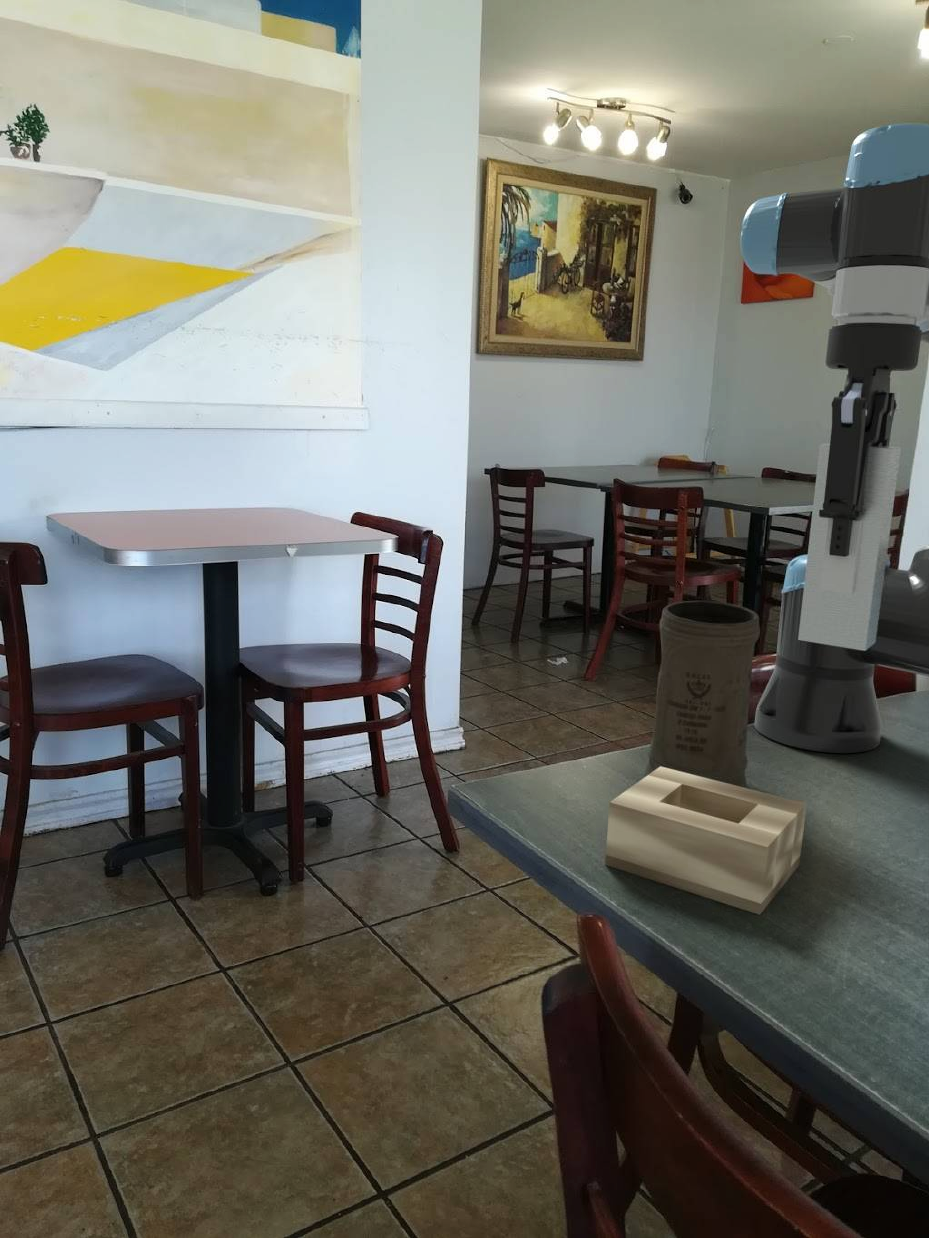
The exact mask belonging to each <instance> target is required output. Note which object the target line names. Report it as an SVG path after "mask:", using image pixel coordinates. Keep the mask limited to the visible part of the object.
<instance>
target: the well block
mask: <svg viewBox="0 0 929 1238" xmlns="http://www.w3.org/2000/svg"><path fill="white" fill-rule="evenodd" d="M806 813H807V803H806V802H801V801H798V800H794V799H790V798H786V797H781V796H779V795H776V794H775V795H774V794H771V793H766V792H764V791H763V792H762V791H758V790H755V789H752V788H751V789H750V788H744V787H740V786H736V785H732V784H728V783H724V782H720V781H716V780H712V779H708V778H704V777H700V776H696V775H692V774H688V773H685V772H681V771H677V770H673V769H669V768H665V767H661V766H660V767H659V768H657V769H656V770H654V771H653V772H652V773H650V774H649V775H647V776H646V777H645V778H644V777H643V778H641V779H640V780H639V781H638V782H636V783H635V784H633V785H632V786H630V787H629V788H628V789H626V790H625V791H624V792H622V793H620V794H619V795H618V796H616V797H615V798H614V799H612V800H611V801H609V807H608V819H607V834H606V835H607V836H606V846H605V863H604V865H605V866H608V867H610V868H614V869H617V870H620V871H623V872H626V873H629V874H632V875H636V876H638V877H641V878H645V879H647V880H651V881H654V882H657V883H660V884H663V885H667V886H669V887H673V888H675V889H678V890H682V891H685V892H687V893H692V894H694V895H697V896H700V897H703V898H706V899H709V900H712V901H716V902H719V903H722V904H725V905H728V906H730V907H733V908H737V909H740V910H743V911H747V912H749V913H753V914H755V915H759V916H760V915H761V914H762V913H763V912H764V911H765V910H766V907H768V905H769V904H770V903H771V902H772V900H774V898H775V897H776V895H777V894H778V893H779V891H780V890H781V889H782V888H783V887H784V886H785V884H786V883H787V882H788V880H789V879H790V877H791V876H793V874H794V872H796V871H797V869H798V868H799V866H800V861H801V854H802V845H803V836H804V828H805V821H806V820H805V819H806Z"/></svg>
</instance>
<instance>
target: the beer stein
mask: <svg viewBox="0 0 929 1238" xmlns="http://www.w3.org/2000/svg"><path fill="white" fill-rule="evenodd" d="M658 629H659V632H660V633H659V634H660V635H659V636H660V646H661V664H660V667H659V668H660V669H659V672H658V675H657V676H658V677H657V688H656V705H655V707H656V708H655V715H654V726H653V734H652V739H651V743H650V745H649V747H648V750H647V756H648V763H647V764H646V768H645V770H644V773H643V774H644V776H643V778H645V777H646V776H647V775H649V774H650V773H652V772H653V771H654V770H656V769H657V768H659V767H660V766H661V767H665V768H669V769H673V770H677V771H681V772H685V773H688V774H692V775H696V776H700V777H704V778H708V779H712V780H716V781H720V782H724V783H728V784H732V785H736V786H740V787H744V788H747V787H748V785H747V778H746V773H745V772H746V770H747V767H748V762H749V760H748V757H747V756H748V755H747V737H748V725H749V724H748V721H749V707H750V706H749V705H750V696H751V695H750V694H751V683H752V673H753V671H752V670H753V664H754V663H753V662H754V652H755V647H756V646H755V645H756V642H758V640H759V638H760V635H761V628H760V616H759V615H758V614H757V613H756V612H755V611H754V610H752V609H749V608H747V607H744V606H741V605H738V604H733V603H727V602H722V601H714V600H713V601H711V600H688V601H687V600H685V601H684V600H683V601H678V602H674V603H670V604H667V605H666V606H665V607H664V608H663V609H662V613H661V618H660V620H659V628H658ZM747 789H748V788H747Z"/></svg>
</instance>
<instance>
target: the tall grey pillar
mask: <svg viewBox="0 0 929 1238" xmlns="http://www.w3.org/2000/svg"><path fill="white" fill-rule="evenodd" d="M829 449H830V443H823V444H819V452H818V460H817V467H816V469H817V470H816V478H815V485H814V496H813V504H812V513H811V522H810V530H809V540H808V541H809V542H808V549H807V555H808V556H807V565H806V574H805V583H804V592H803V601H802V610H801V618H800V627H799V636H798V640H802V641H808V642H814V643H821V644H827V645H833V646H839V647H845V648H851V649H857V650H863V651H866V650H867V649H868V648H869V647H871V646H872V645H873V644H874V643H875V642H876V634H877V627H878V619H879V612H880V604H881V596H882V589H883V581H884V573H885V566H886V558H887V556H888V549H889V541H890V534H891V525H892V520H893V519H892V518H893V511H894V505H895V503H894V502H895V495H896V489H897V481H898V473H899V466H900V465H899V464H900V457H901V451H902V447H901V446H889V447H888V446H871V447H870V449H869V457H868V465H867V473H866V479H865V485H864V491H863V497H862V503H861V509H860V512H861V514H860V517H859V518H858V520H862V527H861V535H860V543H859V551H858V559H857V567H856V575H855V583H854V591H853V593H852V594H849V593H842V592H835V591H827V590H820V588H821V580H822V571H823V563H824V554H825V546H826V537H827V529H828V520H829V518H823V517H820V516H819V510H823V503H824V496H825V486H826V477H827V468H828V458H829Z"/></svg>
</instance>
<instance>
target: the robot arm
mask: <svg viewBox="0 0 929 1238" xmlns="http://www.w3.org/2000/svg"><path fill="white" fill-rule="evenodd" d="M850 148H851V149H850V152H849V158H848V164H847V168H846V174H845V177H844V179H843V185H844V187H838V188H830V189H819V190H813V191H811V190H810V191H801V192H800V191H799V192H791V193H789V192H784V193H782V194H778V195H774V196H772V195H771V196H769V197H763V198H760V199H757V200H756V201H754V203H752V204H751V205H750V206H749V207H748V209H747V211H746V212H745V215H744V218H743V220H742V222H741V223H742V224H741V232H740V233H741V234H740V238H739V240H740V251H741V256H742V259H743V261H744V263H745V265H746V266H747V267H748V269H749V270H750V271H751V272H752V273H754V274H756V275H773V276H780V275H781V274H794V275H797V276H799V277H801V278H804V279H806V280H809V281H811V282H813V283H815V284H818V285H820V286H821V287H824V288H826V289H827V294H828V295H830V296H833V298H832V307H831V316H832V318H833V319H834V320H838V321H837V324H835V325H832V326H831V328H830V329H828V337H827V344H826V345H827V346H826V356H825V365H826V366H827V368H828V369H831V370H840V371H841V370H843V371H844V370H845V371H847V374H846V375H847V376H846V379H845V384H844V387H843V390H840V391H839V394H838V396H834V397H833V399H832V402H831V431H830V439H829V440H830V441H829V444H830V449H829V458H828V468H827V477H826V486H825V496H824V503H823V510H819V516H820V517H823V518H829V520H828V529H827V537H826V546H825V554H824V563H823V571H822V580H821V588H820V590H827V591H835V592H842V593H849V594H852V593H853V591H854V583H855V575H856V567H857V559H858V551H859V543H860V535H861V527H862V520H858V518H859V517H860V514H861V512H860V509H861V503H862V497H863V491H864V485H865V479H866V473H867V465H868V457H869V449H870V447H871V446H888V447H890V441H891V433H892V427H893V422H894V416H895V412H896V409H897V406H898V405H897V400H896V398H895V397H896V395H895V392H891V375H892V374H891V372H893V371H896V372H897V371H898V372H905V371H908V372H910V371H913V370H915V369H916V367H917V366H918V363H919V357H920V348H921V342H925V343H926V344H929V124H927V123H915V122H914V123H909V122H908V123H894V124H888V125H887V124H886V125H882V126H877V127H873V128H870V129H867V130H865V131H863V132H862V133H860V134H859V135H858V136H857V137H856V138H855V139H854V140H853V143H852V144H851V147H850ZM807 556H808V554H802V555H799V556H796V557H794V558H793V559H792V560H790V562H789V563H788V564H787V567H786V571H785V572H786V573H785V577H784V582H783V588H782V589H781V594H782V595H781V606H780V615H779V625H778V634H777V635H778V636H777V644H776V645H777V647H776V656H775V664H774V665H775V666H774V670H773V672H772V673H771V674H772V675H771V676H770V678H769V681H768V682H767V685H766V687H765V689H764V691H763V693H762V695H761V697H760V699H759V702H758V704H757V706H756V709H755V716H754V728H755V729H756V730H757V732H758V733H760V734H761V735H763V736H764V737H766V738H768V739H770V740H773V741H775V742H776V743H780V744H783V745H786V746H789V747H793V748H797V749H798V748H799V749H802V750H808V751H815V752H822V753H831V754H833V753H834V754H835V753H836V754H850V753H851V754H853V753H863V752H868V751H871V750H873V749H875V748H877V747H878V746H879V745H880V743H881V736H882V730H883V723H882V718H881V715H880V710H879V706H878V700H877V696H876V691H875V686H874V672H875V667H876V666H879V667H884V668H887V669H893V670H898V671H901V672H902V671H903V672H908V673H911V674H916V675H920V676H925V677H929V544H927V545H925V546H923V547H921V548H919V549H917V550H916V551H915V553H914V554H913V558H912V561H911V564H910V567H909V568H908V570H905V569H897V568H890V565H891V561H890V558H889V556H888V555H887V558H886V566H885V573H884V581H883V589H882V596H881V604H880V612H879V619H878V627H877V634H876V642H875V643H874V644H873V645H872V646H871V647H869V648H868V649H867V650H866V651H863V650H857V649H851V648H845V647H839V646H833V645H827V644H821V643H814V642H808V641H802V640H798V636H799V627H800V618H801V610H802V601H803V592H804V583H805V574H806V565H807Z"/></svg>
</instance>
